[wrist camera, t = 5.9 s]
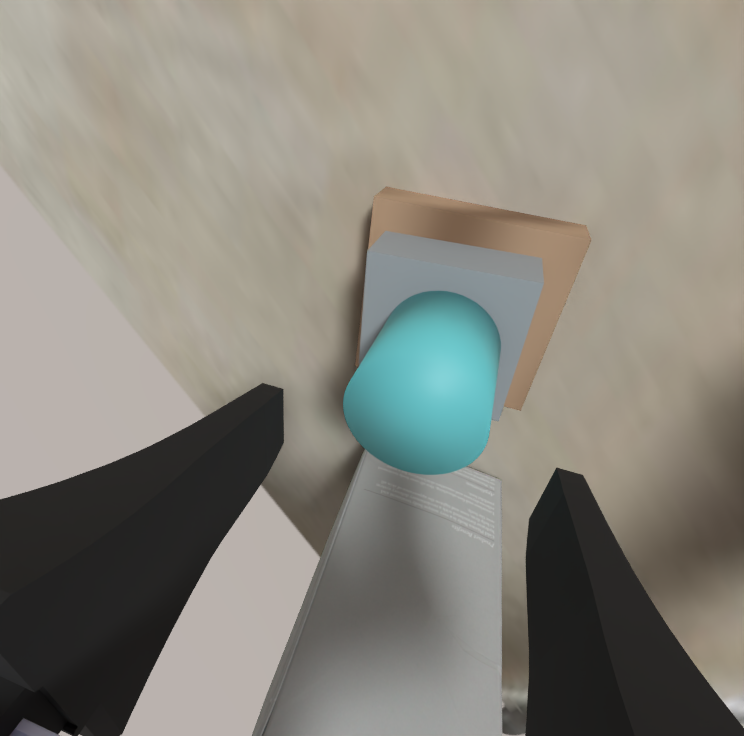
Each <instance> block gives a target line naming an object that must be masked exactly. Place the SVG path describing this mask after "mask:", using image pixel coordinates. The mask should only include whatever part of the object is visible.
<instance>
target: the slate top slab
mask: <svg viewBox="0 0 744 736" xmlns="http://www.w3.org/2000/svg"><path fill="white" fill-rule="evenodd" d="M543 285H544V277H543V264H542V258H539V257H534V256H528V255H522V254H516V253H511V252H505V251H499V250H493V249H488V248H482V247H476V246H470V245H465V244H459V243H453V242H447V241H442V240H436V239H430V238H424V237H418V236H413V235H407V234H401V233H395V232H390V231H385V232H384V233H383V234H382V235H381V236H380V237H379V239H378V240H377V241H376V242H375V243H374V244H373V245H372V246H371V247H370V248H369V249H368V251H367V260H366V274H365V287H364V300H363V314H362V327H361V340H360V353H359V365H360V364H361V362H362V361H363V359H364V357H365V356H366V354H367V352H368V351H369V349H370V347H371V346H372V344H373V343H374V341H375V339H376V338H377V336H378V334H379V333H380V331H381V329H382V328H383V326H384V325H385V323H386V321H387V320H388V318H389V316H390V315H391V313H392V312H393V310H394V309H395V308H396V307H397V306H398V305H399V304H400V303H401V302H403V301H404V300H406V299H407V298H409V297H411V296H413V295H415V294H419V293H422V292H427V291H448V292H453V293H457V294H460V295H463V296H465V297H467V298H469V299H471V300H473V301H474V302H476V303H477V304H479V305H480V306H481V307H482V308H483V309H484V310H485V311H486V312H487V313H488V314H489V315H490V316H491V318H492V319H493V321H494V322H495V324H496V326H497V328H498V331H499V334H500V339H501V353H500V360H499V368H498V375H497V382H496V389H495V396H494V403H493V410H492V417H491V420H494V421H499V418H500V415H501V412H502V409H503V406H504V403H505V400H506V397H507V394H508V391H509V388H510V385H511V382H512V379H513V376H514V373H515V370H516V367H517V364H518V361H519V358H520V355H521V352H522V349H523V346H524V343H525V340H526V337H527V333H528V330H529V327H530V324H531V321H532V318H533V315H534V312H535V309H536V306H537V303H538V300H539V297H540V294H541V291H542V288H543Z"/></svg>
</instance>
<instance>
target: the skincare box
mask: <svg viewBox="0 0 744 736" xmlns="http://www.w3.org/2000/svg"><path fill="white" fill-rule="evenodd" d="M501 485H502V481H501V480H500V479H498V478H495V477H493V476H490V475H487V474H485V473H482V472H480V471H477V470H475V469H472V468H470V467H467V466H466V467H464V468H462V469H460V470H457V471H454V472H451V473H446V474H439V475H423V474H415V473H410V472H406V471H403V470H400V469H397V468H394V467H392V466H390V465H388V464H386V463H384V462H382V461H380V460H379V459H377V458H376V457H374V456H373V455H372V454H370V453H369V452H368V451H367V450H366V449H365V450H364V452H363V454H362V457H361V459H360V461H359V464H358V466H357V468H356V471H355V473H354V475H353V478H352V480H351V483H350V485H349V488H348V490H347V493H346V495H345V498H344V500H343V503H342V505H341V508H340V510H339V513H338V515H337V517H336V520H335V522H334V525H333V527H332V530H331V532H330V535H329V537H328V540H327V542H326V545H325V548H324V550H323V553H322V555H321V558H320V560H319V563H318V566H317V568H316V571H315V573H314V576H313V578H312V581H311V584H310V586H309V589H308V591H307V594H306V596H305V599H304V601H303V604H302V607H301V609H300V612H299V614H298V617H297V619H296V622H295V624H294V627H293V630H292V632H291V634H290V637H289V640H288V642H287V645H286V647H285V650H284V652H283V655H282V657H281V660H280V663H279V665H278V668H277V670H276V673H275V675H274V678H273V680H272V683H271V685H270V688H269V691H268V693H267V696H266V698H265V701H264V704H263V706H262V709H261V712H260V715H259V717H258V720H257V723H256V726H255V728H254V731H253V734H252V736H502V678H501V677H502V487H501Z"/></svg>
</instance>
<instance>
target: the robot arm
mask: <svg viewBox="0 0 744 736" xmlns="http://www.w3.org/2000/svg"><path fill="white" fill-rule="evenodd" d="M283 443H284V423H283V389H281V388H278V387H274V386H271V385H267V384H264V383H262V384H260V385H259V386H257V387H255V388H254V389H252V390H250V391H248V392H247V393H245V394H243V395H242V396H240V397H238V398H237V399H235V400H233V401H232V402H230V403H228V404H227V405H225V406H223V407H222V408H220V409H218V410H216V411H215V412H213V413H211V414H209V415H208V416H206V417H204V418H202V419H201V420H199V421H197V422H195V423H194V424H192V425H190V426H189V427H186V428H185V429H182V430H181V431H179V432H177V433H175V434H173V435H171V436H169V437H167V438H165V439H163V440H161V441H159V442H157V443H155V444H153V445H151V446H149V447H147V448H145V449H143V450H140V451H138V452H136V453H133V454H131V455H129V456H126V457H124V458H122V459H119V460H117V461H115V462H112V463H110V464H107V465H105V466H102V467H99V468H97V469H94V470H91V471H88V472H86V473H83V474H80V475H77V476H74V477H72V478H69V479H66V480H63V481H61V482H57V483H54V484H51V485H48V486H45V487H41V488H38V489H35V490H32V491H29V492H25V493H22V494H18V495H15V496H11V497H8V498H4V499H0V736H60V735H58V734H59V733H60V731H64V732H66V733H68V734H70V735H72V736H78V735H79V734H80V735H82V736H120V735H121V734H122V733H123V731H124V729H125V726H126V724H127V722H128V720H129V718H130V715H131V713H132V711H133V709H134V707H135V705H136V703H137V700H138V698H139V696H140V694H141V692H142V690H143V688H144V686H145V683H146V682H147V679H148V677H149V675H150V673H151V671H152V669H153V667H154V665H155V663H156V661H157V659H158V657H159V655H160V653H161V651H162V649H163V647H164V645H165V643H166V641H167V639H168V637H169V635H170V633H171V631H172V629H173V627H174V625H175V623H176V621H177V620H178V618H179V616H180V614H181V612H182V610H183V608H184V606H185V604H186V602H187V601H188V599H189V597H190V595H191V593H192V591H193V589H194V588H195V586H196V584H197V582H198V580H199V579H200V577H201V575H202V573H203V571H204V570H205V568H206V566H207V564H208V563H209V561H210V559H211V557H212V556H213V554H214V552H215V551H216V549H217V548H218V546H219V544H220V543H221V541H222V540H223V538H224V537H225V536H226V534H227V533H228V531H229V530H230V528H231V527H232V526H233V524H234V523H235V521H236V520H237V518H238V517H239V515H240V514H241V512H242V511H243V510H244V508H245V507H246V505H247V504H248V502H249V501H250V499H251V498H252V497H253V495H254V494H255V492H256V491H257V489H258V487H259V486H260V485H261V483H262V482H263V480H264V479H265V477H266V476H267V474H268V472H269V470H270V469H271V467H272V465H273V463H274V461H275V459H276V457H277V455H278V453H279V451H280V449H281V447H282V445H283ZM526 584H527V611H528V637H529V686H528V703H527V721H526V734H525V735H526V736H744V728H743V726H742V725H741V724H740V723H739V721H738V720H737V719H736V718H735V716H734V715H733V714H732V713H731V711H730V710H729V709H728V707H727V706H726V705H725V704H724V702H723V701H722V700H721V699H720V697H719V696H718V695H717V694H716V692H715V691H714V690H713V688H712V687H711V686H710V684H709V683H708V682H707V680H706V679H705V678H704V676H703V675H702V674H701V673H700V671H699V670H698V668H697V667H696V666H695V664H694V663H693V662H692V660H691V659H690V657H689V656H688V654H687V653H686V652H685V650H684V649H683V647H682V646H681V645H680V643H679V642H678V640H677V639H676V637H675V636H674V635H673V633H672V632H671V630H670V629H669V627H668V626H667V624H666V623H665V621H664V620H663V618H662V617H661V615H660V614H659V612H658V611H657V609H656V607H655V606H654V604H653V603H652V601H651V599H650V598H649V596H648V594H647V593H646V591H645V590H644V588H643V586H642V585H641V583H640V581H639V580H638V578H637V576H636V574H635V573H634V571H633V569H632V568H631V566H630V564H629V562H628V560H627V559H626V557H625V555H624V553H623V551H622V550H621V548H620V546H619V544H618V542H617V541H616V539H615V537H614V535H613V533H612V531H611V529H610V527H609V525H608V523H607V521H606V520H605V518H604V516H603V514H602V512H601V510H600V508H599V506H598V504H597V502H596V500H595V498H594V496H593V494H592V492H591V490H590V488H589V486H588V484H587V482H586V480H585V478H584V476H583V475H581V474H577V473H574V472H570V471H567V470H563V469H560V468H556V470H555V472H554V474H553V475H552V477H551V479H550V481H549V483H548V485H547V487H546V489H545V490H544V492H543V494H542V496H541V498H540V500H539V502H538V503H537V505H536V507H535V509H534V511H533V513H532V515H531V517H530V518H529V526H528V537H527V548H526Z"/></svg>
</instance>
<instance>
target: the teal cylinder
mask: <svg viewBox="0 0 744 736" xmlns="http://www.w3.org/2000/svg"><path fill="white" fill-rule="evenodd" d="M500 353H501V339H500V334H499V331H498V328H497V326H496V324H495V322H494V321H493V319H492V318H491V316H490V315H489V314H488V313H487V312H486V311H485V310H484V309H483V308H482V307H481V306H480V305H479V304H477V303H476V302H474V301H473V300H471V299H469V298H467V297H465V296H463V295H460V294H457V293H453V292H448V291H427V292H422V293H419V294H415V295H413V296H411V297H409V298H407V299H406V300H404V301H403V302H401V303H400V304H399V305H398V306H397V307H396V308H395V309H394V310H393V312H392V313H391V315H390V316H389V318H388V320H387V321H386V323H385V325H384V326H383V328H382V329H381V331H380V333H379V334H378V336H377V338H376V339H375V341H374V343H373V344H372V346H371V347H370V349H369V351H368V352H367V354H366V356H365V357H364V359H363V361H362V362H361V364H360V365H359V367H358V369H357V370H356V372H355V374H354V375H353V377H352V379H351V380H350V382H349V383H348V385H347V388H346V390H345V394H344V398H343V409H344V415H345V419H346V422H347V424H348V427H349V429H350V431H351V432H352V434H353V435H354V437H355V438H356V440H357V441H358V442H359V443H360V444H361V445H362V447H364V448H365V449H366V450H367V451H368V452H369V453H370V454H372V455H373V456H374V457H376V458H377V459H379V460H380V461H382V462H384V463H386V464H388V465H390V466H392V467H394V468H397V469H400V470H403V471H406V472H410V473H415V474H423V475H439V474H446V473H451V472H454V471H457V470H460V469H462V468H464V467H466V466H468V465H469V464H471V463H472V462H473V461H474V460H475V459H477V458H478V457H479V455H480V454H481V453H482V452H483V450H484V448H485V446H486V444H487V441H488V438H489V432H490V425H491V417H492V410H493V403H494V396H495V389H496V382H497V375H498V368H499V360H500Z"/></svg>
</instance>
